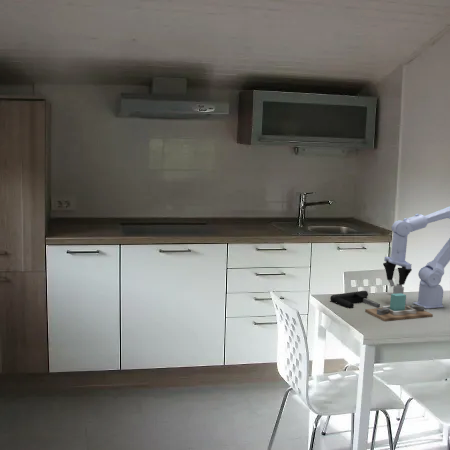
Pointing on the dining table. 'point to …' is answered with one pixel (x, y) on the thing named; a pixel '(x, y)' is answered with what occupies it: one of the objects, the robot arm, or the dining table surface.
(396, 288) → the lighter
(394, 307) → the block
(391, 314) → the board
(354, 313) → the dining table surface
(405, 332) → the dining table surface
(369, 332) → the dining table surface
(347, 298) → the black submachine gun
